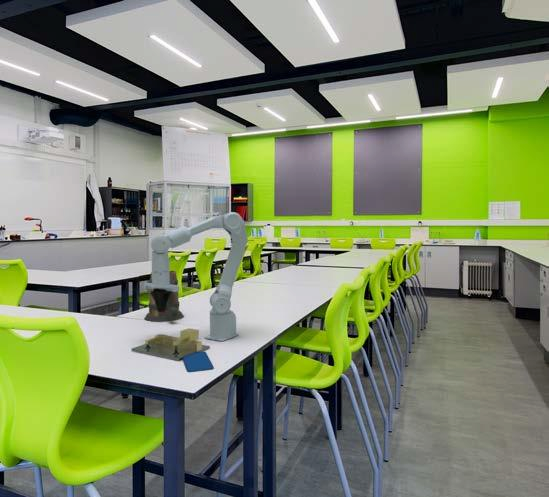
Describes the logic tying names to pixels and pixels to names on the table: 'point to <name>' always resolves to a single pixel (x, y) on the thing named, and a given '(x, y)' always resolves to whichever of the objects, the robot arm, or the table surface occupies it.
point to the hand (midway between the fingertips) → (161, 311)
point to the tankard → (171, 307)
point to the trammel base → (169, 347)
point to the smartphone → (197, 362)
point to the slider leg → (187, 337)
